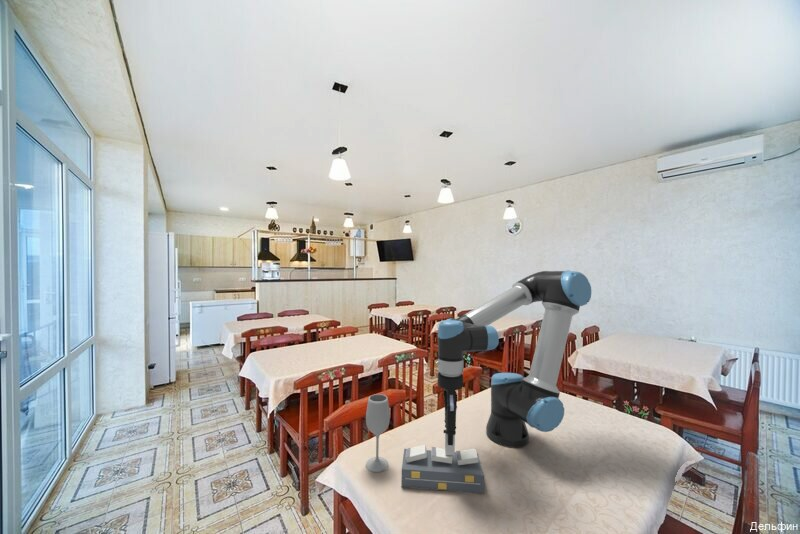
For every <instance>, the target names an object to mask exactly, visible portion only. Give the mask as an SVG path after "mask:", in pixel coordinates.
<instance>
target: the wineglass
mask: <svg viewBox="0 0 800 534" xmlns="http://www.w3.org/2000/svg"><path fill="white" fill-rule="evenodd" d="M389 404H390V403H389V400H388V396H387V395H385V394H381V393H376V394H372V395H370V396H369V397H368V400H367V406H366V413H365V424H366V427H367V429H368V430H369V431H370V432H371V433H372V434H373V435H374V436H375V440H376V442H375V443H376V445H375V457H371V458H369V459H368V460H367V461H366V462H365V468H366V470H368V471H369V472H372V473H381V472H384V471H386V470H387V469H388V467H389V461H388V460H387V458H384V457H381V456H379V449H380V448H379V442H380V441H379V440H380V439H379V438H380V436H381V435H382V434H383V433H384V432H385V431H387V429H388V428H389V425H390V421H391V419H390V417H391V414H390V405H389Z"/></svg>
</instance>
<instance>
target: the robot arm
mask: <svg viewBox="0 0 800 534" xmlns="http://www.w3.org/2000/svg"><path fill="white" fill-rule="evenodd" d="M591 297H592V286H591V283H590V281H589V279H588V277H587V276H586V275H585V274H583V273H582V272H580V271H575V270H573V271H572V270H544V271H542V270H541V271H538V272H535V273H533V274H529V275H528V276H525V277H524V278H522V279H520V280H518V281H516V282H514V283H512V286H511V288H509V289H507V290H506V291H504V292H502V293H501V294H498V295H496V296H495V297H493V298H491V299H490V300H487V301H486V302H484V303H483V304H481V305H479V306H477V307H476V308H473V309H472V310H470V311H468V312H467V313H464V314H463V315H461V316H459V317H457V318H447V319H446V320H445V319H444V320H441V321H439V323H438V327H437V328H438V330H437V361H435V364H436V365H437V371H438V373H437V386H438V387H439V388H440V389H443V391H442V396H443V404H444V424H445V425H444V428H445V429H443V434H444V449H445V455H455V452H456V451H455V450H456V447H455V446H456V433H457V431H456V429H457V426H456V425H457V408H458V405H457V401H458V393H457V390H460V389H462V388H463V387H464V375H463V373H464V353H467V352H468V353H470V352H482V351H485V352H487V351H491V350H494V349H496V348H497V347H498V346H499V343H500V341H499V336H500V335H499V333H498V331H497V329H496V328H495V327H494V326H492V325H491V324H493V323H495V322H496V321H498V320H499V319H501V318H503V317H505V316H507V315H509V313H511V312H512V313H513V312H514V311H515V310H517V309H518V308H520V307H522V306H529V305H531V304H533V303H536V302H541V305H542V307H543V308H544V314H543V316H542V317H543V318H542V321H541V325H540V329H539V333H538V338H537V342H536V345H535V349H534V354H533V358H532V362H531V366H530V369H529V373H528V375H527V376H526V377H524V376H523V375H522V374H520V373H515V372H514V373H513V372H498V373H494V374H493V375H492V376H491V379H490V380H491V382H490V414H489V416H488V420H487V423H486V426H485V427H486V428H485V429H486V430H485V432H486V433H485V434H486V436H487V438H489V439H490V440H491V441H492V442H494V443H496V444H498V445H500V446H503V447H506V448H507V447H508V448H521V447H525V446H527V445H528V443H529V440H530V438H529V436H530V435H529V430H528V426H529V427H531V428H534V429H536V430H537V431H539V432H543V433H547V432H548V433H549V432H552V431H554V430H555V429H556V428H558V427H559V425H561V423H562V421H563V419H564V416H565V407H564V403H563V402H562V401H561V399H559V398H560V393H561V392H560V390H559V388H558V386H557V383H558V379H559V374H560V370H561V366H562V362H563V358H564V354H565V348H566V345H567V341H568V337H569V336H568V335H569V333H570V328H571V323H572V320H573V317H574V316H575V315H577V314H579V312H580V308H581V307H584V306H585V305H587V304H588V303H589V302H590V300H591ZM527 424H528V426H527Z"/></svg>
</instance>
